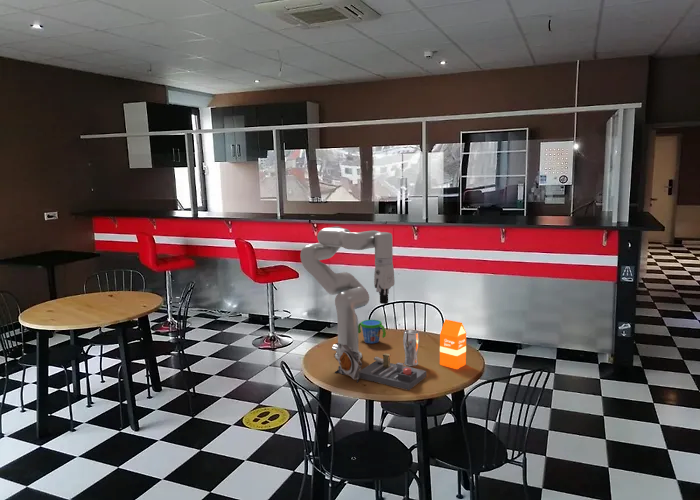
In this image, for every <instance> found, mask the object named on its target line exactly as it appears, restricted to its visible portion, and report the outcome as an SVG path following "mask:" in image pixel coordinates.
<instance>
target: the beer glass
mask: <svg viewBox="0 0 700 500" xmlns="http://www.w3.org/2000/svg"><path fill="white" fill-rule="evenodd" d="M419 332H420V331H419V330H417V329H412V328H411V329H406V330H403V341H402V342H403V349H404V354H405V355H404V363H403V364H404V366H406V367H417V366H418V365H419V362H418V353H419V346H420V345H419V344H420V333H419Z"/></svg>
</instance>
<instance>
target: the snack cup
mask: <svg viewBox="0 0 700 500" xmlns="http://www.w3.org/2000/svg"><path fill="white" fill-rule="evenodd" d="M381 330H382V335H381ZM361 333H362V336H363V341H364V342H365V344H370V345H371V344H377V343H379V341H380V337H382V339H384V338H385V337H386V336H387V335H386V334H387V332H386V328H385V326H384V325H383V324H382V321H381V320H379V319H365V320H364V319H363V321H361V322H358V334H361Z"/></svg>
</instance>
